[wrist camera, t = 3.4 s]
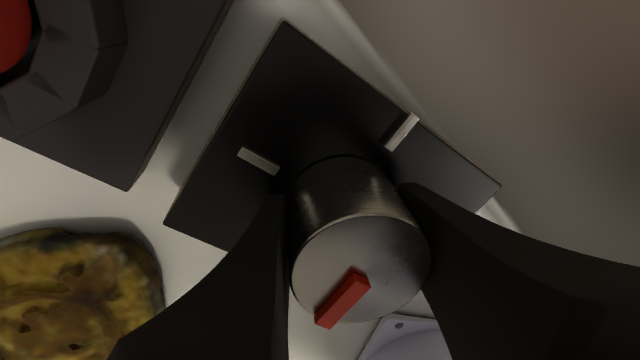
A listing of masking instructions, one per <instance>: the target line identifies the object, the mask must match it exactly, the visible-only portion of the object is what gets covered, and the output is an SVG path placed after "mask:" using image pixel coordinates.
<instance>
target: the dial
mask: <svg viewBox="0 0 640 360" xmlns="http://www.w3.org/2000/svg"><path fill="white" fill-rule="evenodd" d="M286 218H287V247H288V267H289V282H290V287H291V290H292V293H293V295H294V296H295V298H296V300H297V301H298V302H299V304H300V305H301V306H302V307H303V308H304V309H306V310H307V311H308V312H310V313H311V314H313V315H314V321H315V324H316V325H319V326H322V327H324V328H327V329H331V328H332V327H333V326H334V325H335V324H336V323H337V322H340V323H357V322H364V321H370V320H374V319H377V318H380V317H383V316H385V315H388V314H390V313H392V312H394V311H396V310H397V309H399V308H401V307H402V306H404V305H405V304H407V303H408V302H409V301H410V300H411V299H412V298H414V296H415V295H416V294H417V293H418V292H419V291H420V290H421V288H422V287H423V286H424V284H425V282H426V280H427V278H428V276H429V274H430V270H431V266H432V250H431V247H430V243H429V241H428V239H427V237H426V236H425V234H424V232H423V231H422V229H421V228H420V226H419V225H418V223H417V222H416V220H415V219H414V217H413V216H412V214H411V213H410V211H409V209H408V208H407V206H406V205H405V203H404V202H403V200H402V199H401V197H400V196H399V194H398V193H397V191H396V190H395V188H394V186H393V185H392V183H391V182H390V180H389V179H388V177H387V176H386V175H385V173H384V172H383V171H382V170H381V169H380V168H378V167H377V166H376V165H374V164H372V163H370V162H368V161H366V160H363V159H359V158H355V157H336V158H331V159H327V160H324V161H321V162H319V163H317V164H315V165H313V166H311V167H310V168H308V169H307V170H305V171H304V172H303V173H302V174H301V175H300V176H299V177H298V178H297V179H296V181H295V182H294V183H293V185H292V187H291V188H290V191H289V193H288V196H287V199H286Z"/></svg>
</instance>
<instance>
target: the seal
mask: <svg viewBox="0 0 640 360" xmlns="http://www.w3.org/2000/svg"><path fill="white" fill-rule="evenodd" d="M165 309H166V308H165V299H164V295H163V290H162V279H161V277H160V275H159V273H158V271H157V269H156V267H155V264H154V261H153V259H152V257H151V256H150V254H149V253H148V252H147V251H146V249H145V248H144V247H143V246H142V245H141V244H140V243H139V242H137V241H136V240H135V239H134V238H133V237H131V236H130V235H129V234H124V233H118V232H111V233H104V234H93V233H85V234H81V235H76V236H75V235H69V234H67V233H66V232H64V231H63V230H61V229H42V230H34V231H28V232H24V233H20V234H16V235H13V236H10V237H7V238H4V239H1V240H0V360H106V359H107V358H108V356H109V354H110V353H111V351H112V350H113V348H114V346H115V344H116V342H117V341H118V340H119V339H120V338H122V337H123V336H125V335H127V334H128V333H130V332H131V331H133V330H134V329H136V328H138V327H139V326H141V325H142V324H144V323H145V322H147V321H148V320H150V319H151V318H153V317H154V316H156V315H157V314H159V313H160V312H162V311H163V310H165Z"/></svg>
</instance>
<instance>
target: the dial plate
mask: <svg viewBox="0 0 640 360" xmlns="http://www.w3.org/2000/svg"><path fill="white" fill-rule="evenodd" d="M419 119H420V118H418V117H417V116H416V115H415V114H413V113H412V112H410V113H408V112H407V111H406V110H404V109H403V108H402V107H400V106H399V105H398V104H396V103H395V102H394V101H392V100H391V99H390V98H389V97H387V96H386V95H385V94H383V93H382V92H381V91H379V90H378V89H377V88H375V87H374V86H373V85H371V84H370V83H369V82H368V81H366V80H365V79H364V78H362V77H361V76H360V75H358V74H357V73H356V72H354V71H353V70H352V69H350V68H349V67H348V66H347V65H345V64H344V63H343V62H341V61H340V60H339V59H337V58H336V57H335V56H333V55H332V54H331V53H329V52H328V51H327V50H325V49H324V48H323V47H322V46H320V45H319V44H318V43H316V42H315V41H314V40H312V39H311V38H310V37H308V36H307V35H306V34H304V33H303V32H302V31H301V30H299V29H298V28H297V27H295V26H294V25H293V24H291V23H290V22H289V21H287V20H286V19H285V18H281V19H280V20H279V22H278V24H277V25H276V27H275V29H274V30H273V32H272V34H271V36H270V37H269V39H268V41H267V42H266V44H265V46H264V47H263V49H262V51H261V52H260V54H259V56H258V58H257V59H256V61H255V63H254V64H253V66H252V68H251V69H250V71H249V73H248V75H247V76H246V78H245V80H244V81H243V83H242V85H241V86H240V88H239V90H238V92H237V93H236V95H235V97H234V98H233V100H232V102H231V103H230V105H229V107H228V108H227V110H226V112H225V114H224V115H223V117H222V119H221V120H220V122H219V124H218V125H217V127H216V129H215V131H214V132H213V134H212V136H211V137H210V139H209V141H208V142H207V144H206V146H205V148H204V149H203V151H202V153H201V154H200V156H199V158H198V159H197V161H196V163H195V164H194V166H193V168H192V170H191V171H190V173H189V175H188V176H187V178H186V180H185V181H184V183H183V185H182V187H181V188H180V190H179V192H178V194H177V196H176V198H175V200H174V202H173V204H172V205H171V207H170V209H169V211H168V213H167V215H166V217H165V219H164V221H163V225H165V226H167V227H170V228H172V229H175V230H177V231H179V232H182V233H184V234H186V235H189V236H191V237H193V238H196V239H198V240H201V241H203V242H205V243H208V244H210V245H212V246H215V247H217V248H220V249H222V250H224V251H227V252H229V251H230V250H231V249H232V247H233V246H234V245H235V244H236V242H237V241H238V240H239V238H240V237H241V235H242V234H243V233H244V231H245V230H246V229H247V227H248V225H249V224H250V222H251V221H252V219H253V218H254V216H255V214H256V212H257V211H258V209H259V207H260V205H261V203H262V201H263V199H264V197H265V196H266V195H269V194H281V193H285V204H286V199H287V196H288V193H289V191H290V188H291V187H292V185H293V183H294V182H295V181H296V179H297V178H298V177H299V176H300V175H301V174H302V173H303V172H304V171H305V170H307V169H308V168H310V167H311V166H313V165H315V164H317V163H319V162H321V161H324V160H327V159H331V158H336V157H355V158H359V159H363V160H366V161H368V162H370V163H372V164H374V165H376V166H377V167H378V168H380V169H381V170H382V171H383V172H384V173H385V175H386V176H387V177H388V179H389V180H390V182H391V183H392V185H393V186H394V188H395V190H396V191H397V193H398V184H401V183H413V182H415V183H418V184H420V185H422V186H424V187H426V188H428V189H430V190H432V191H433V192H435V193H437V194H439V195H441V196H442V197H444V198H446V199H448V200H450V201H451V202H453V203H455V204H457V205H459V206H461V207H463V208H464V209H466V210H468V211H470V212H472V213H474V214H475V213H476V212H477V211H478V210H479V209H480V208H481V207H482V206H483V205H484V204H485V203H486V202H487V201H488V200H489V199H490V198H491V197H492V196H493V195H494V194H495V193H496V192H497V191H498V190H499V189H500V188H501V187H502V185H501V184H500V183H499V182H498V181H496V180H495V179H494V178H493V177H491V176H490V175H489V174H488V173H486V172H485V171H484V170H483V169H481V168H480V167H479V166H477V165H476V164H475V163H474V162H472V161H471V160H470V159H469V158H467V157H466V156H464V155H463V154H462V153H461V152H459V151H458V150H457V149H455V148H454V147H453V146H452V145H450V144H449V143H448V142H446V141H445V140H444V139H442V138H441V137H440V136H438V135H437V134H436V133H435V132H433V131H432V130H431V129H429V128H428V127H427V126H425V125H424V124H423V123H421V122H420V121H419Z"/></svg>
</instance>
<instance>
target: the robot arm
mask: <svg viewBox="0 0 640 360" xmlns="http://www.w3.org/2000/svg"><path fill="white" fill-rule="evenodd" d="M398 194H399V196H400V197H401V199H402V200H403V202H404V203H405V205H406V206H407V208H408V209H409V211H410V213H411V214H412V216H413V217H414V219H415V220H416V222H417V223H418V225H419V226H420V228H421V229H422V231H423V232H424V234H425V236H426V237H427V239H428V241H429V243H430V247H431V250H432V266H431V270H430V274H429V276H428V278H427V280H426V282H425V284H424V286H423V287H422V288H421V290H422V292H423V294H424V296H425V298H426V300H427V302H428V303H429V305H430V307H431V309H432V311H433V314H434V316H435V318H436V320H435V319H427V318H420V317H413V316H406V315H398V314H388V315H385V316H384V317H383V318H382V319H381V321H380V323H379V325H378V326H377V328H376V330H375V331H374V333H373V335H372V336H371V338H370V340H369V342H368V343H367V345H366V347H365V348H364V350H363V352H362V354H361V355H360V357H359V359H358V360H640V267H637V266H632V265H628V264H622V263H618V262H613V261H609V260H605V259H601V258H597V257H593V256H589V255H585V254H582V253H578V252H574V251H571V250H568V249H564V248H561V247H558V246H555V245H551V244H548V243H545V242H542V241H539V240H536V239H533V238H531V237H527V236H525V235H522V234H520V233H517V232H515V231H512V230H510V229H507V228H505V227H502V226H500V225H498V224H495V223H493V222H491V221H489V220H487V219H485V218H483V217H481V216H478V215H476V214H474V213H472V212H470V211H468V210H466V209H464V208H463V207H461V206H459V205H457V204H455V203H453V202H451V201H450V200H448V199H446V198H444V197H442V196H441V195H439V194H437V193H435V192H433V191H432V190H430V189H428V188H426V187H424V186H422V185H420V184H418V183H415V182H413V183H401V184H398ZM289 286H290V282H289V267H288V247H287V218H286V204H285V193H281V194H269V195H266V196H265V197H264V199H263V201H262V203H261V205H260V207H259V209H258V211H257V212H256V214H255V216H254V218H253V219H252V221H251V222H250V224H249V225H248V227H247V229H246V230H245V231H244V233H243V234H242V235H241V237H240V238H239V240H238V241H237V242H236V244H235V245H234V246H233V247H232V249H231V250H230V251H229V252H228V253H227V255H226V256H225V257H224V258H223V259H222V260H221V261H220V262H219V263H218V264H217V266H216V267H215V268H214V269H213V270H212V271H210V272H209V273H208V274H207V275H206V276H205V277H204V278H203V279H202V280H201V281H200V282H199V283H198V284H196V285H195V286H194V287H193V288H192V289H191V290H189V291H188V292H187V293H186V294H184V295H183V296H182V297H181V298H179V299H178V300H177V301H175V302H174V303H173V304H171V305H170V306H169V307H167V308H166V309H165V310H163V311H162V312H160V313H159V314H157V315H156V316H154V317H153V318H151V319H150V320H148V321H147V322H145V323H144V324H142V325H141V326H139V327H138V328H136V329H134V330H133V331H131V332H130V333H128V334H127V335H125V336H123V337H122V338H120V339H119V340H118V341H117V342H116V344H115V346H114V348H113V350H112V351H111V353H110V354H109V356H108V358H107V359H106V360H289V354H288V307H289Z"/></svg>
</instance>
